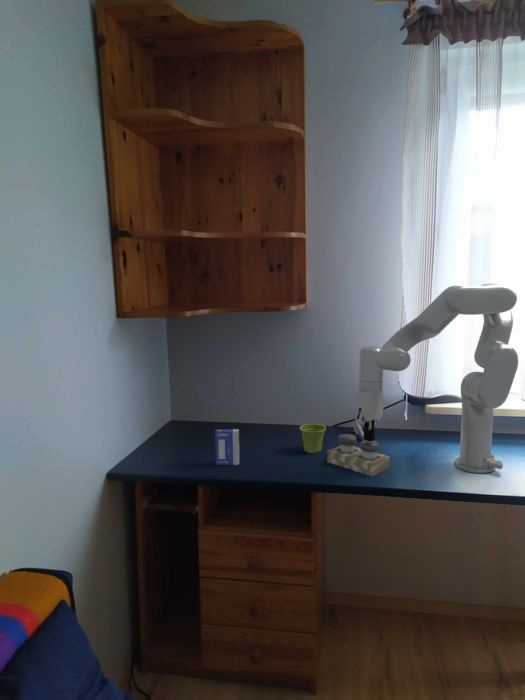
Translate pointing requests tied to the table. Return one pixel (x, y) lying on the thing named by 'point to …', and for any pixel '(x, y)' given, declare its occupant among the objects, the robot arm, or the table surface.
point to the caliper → (358, 429)
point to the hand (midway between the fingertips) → (368, 440)
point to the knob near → (369, 449)
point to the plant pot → (312, 437)
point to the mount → (358, 461)
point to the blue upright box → (227, 446)
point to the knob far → (347, 443)
